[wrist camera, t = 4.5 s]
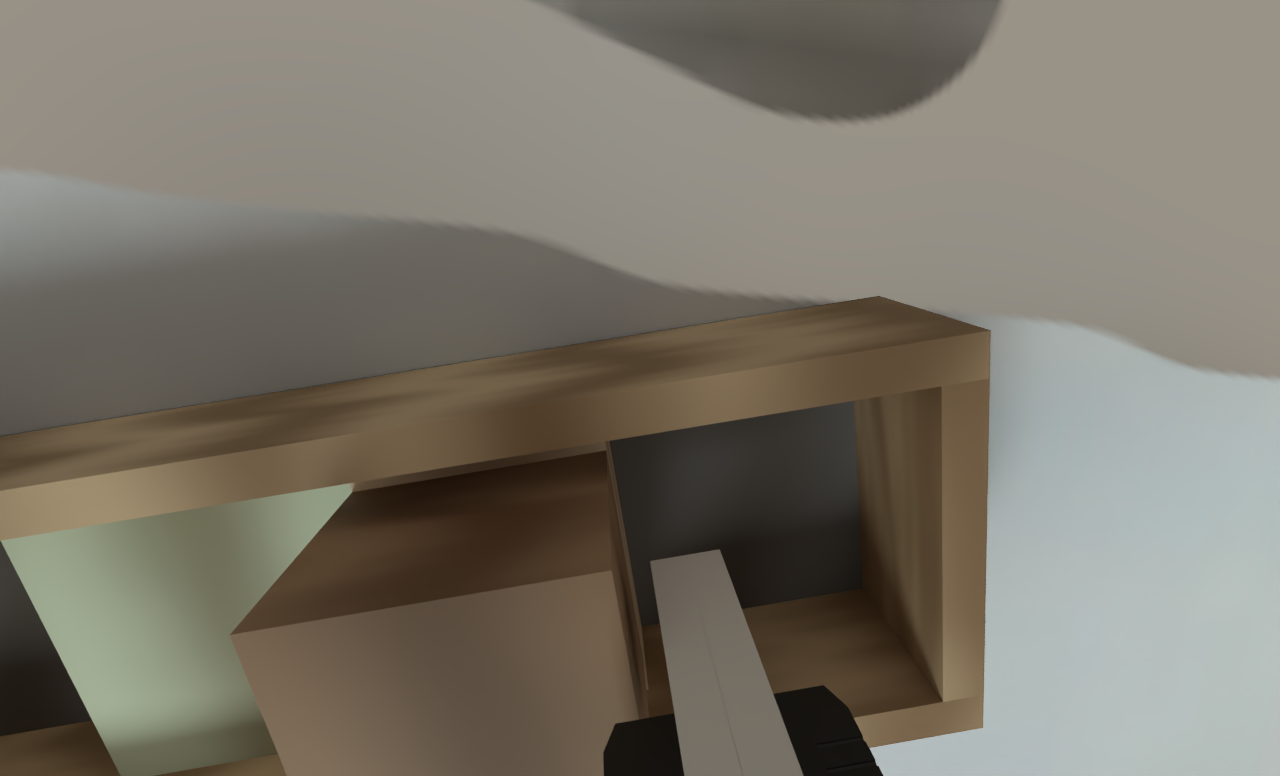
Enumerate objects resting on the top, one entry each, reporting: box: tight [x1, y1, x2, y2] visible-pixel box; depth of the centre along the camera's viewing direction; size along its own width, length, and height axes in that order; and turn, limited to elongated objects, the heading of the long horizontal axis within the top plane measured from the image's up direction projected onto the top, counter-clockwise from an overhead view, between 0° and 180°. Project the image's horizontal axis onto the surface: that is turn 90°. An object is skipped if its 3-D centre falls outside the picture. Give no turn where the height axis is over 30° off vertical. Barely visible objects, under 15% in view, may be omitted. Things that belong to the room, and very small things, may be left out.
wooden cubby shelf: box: [0, 296, 991, 776], centre depth 16 cm, size 30×10×5 cm, turn 98°
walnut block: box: [230, 451, 649, 776], centre depth 13 cm, size 6×6×5 cm
